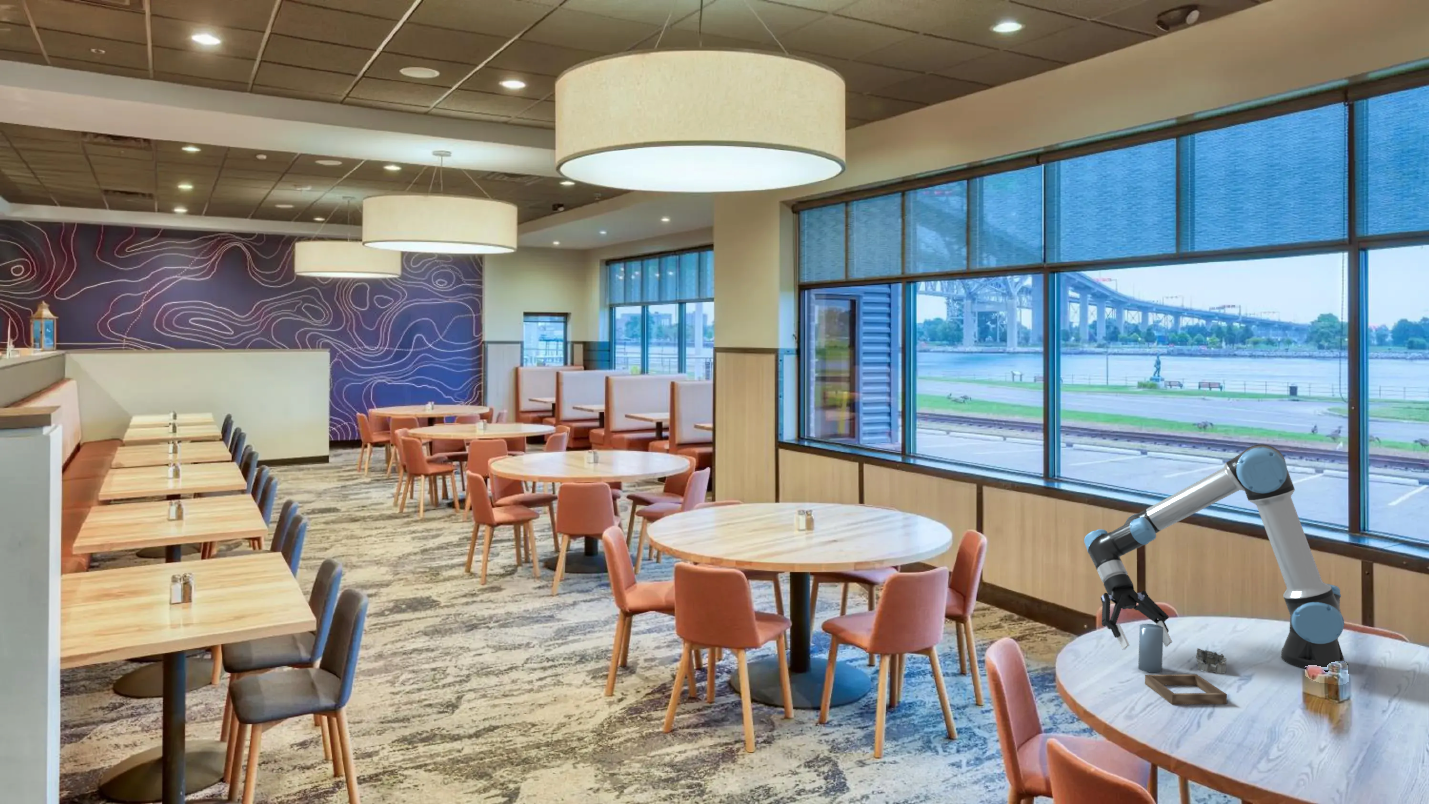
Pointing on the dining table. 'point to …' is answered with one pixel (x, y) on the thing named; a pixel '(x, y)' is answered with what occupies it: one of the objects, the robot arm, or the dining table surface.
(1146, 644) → the slate jar
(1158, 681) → the wooden square frame
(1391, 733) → the dining table surface
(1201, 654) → the egg carton
